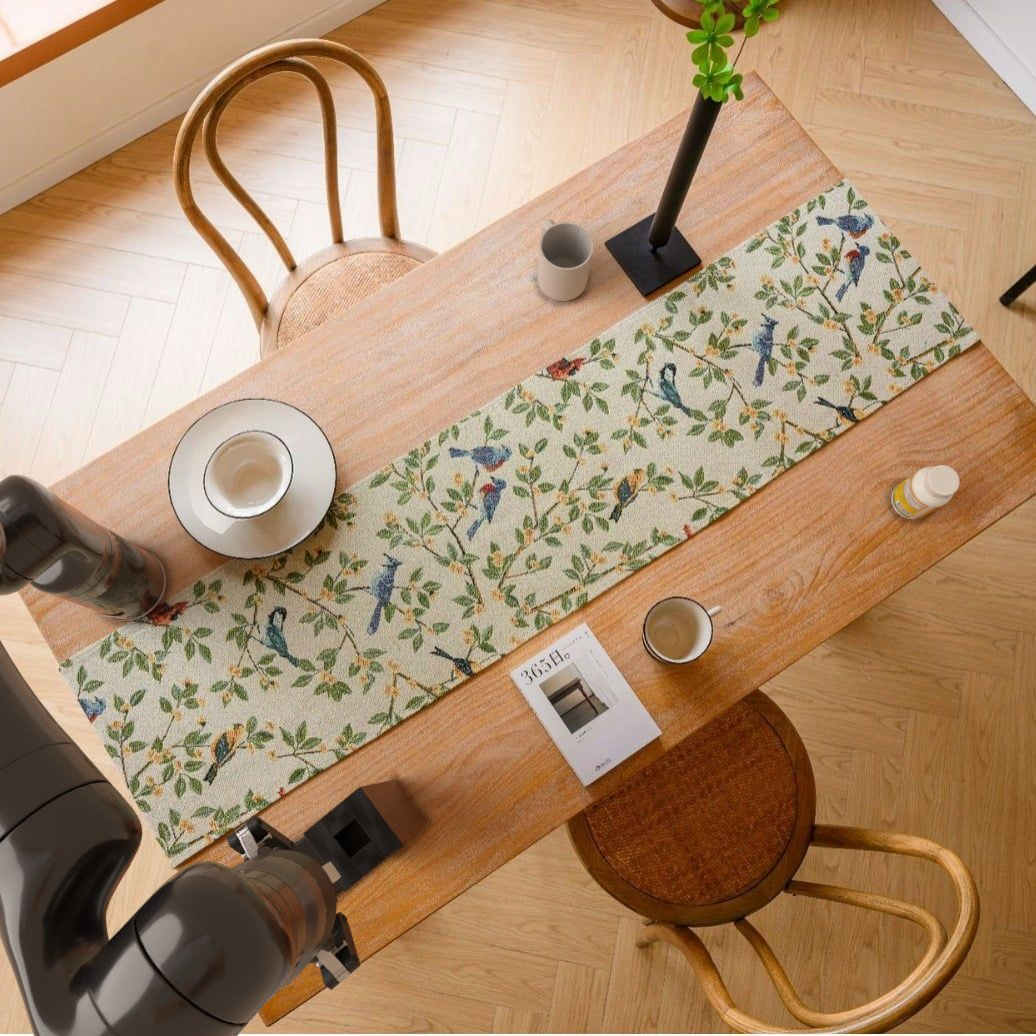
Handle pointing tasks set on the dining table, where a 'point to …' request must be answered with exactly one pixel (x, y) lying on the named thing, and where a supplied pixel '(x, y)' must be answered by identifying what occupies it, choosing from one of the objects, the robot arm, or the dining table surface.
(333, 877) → the grey square peg
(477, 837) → the dining table surface
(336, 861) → the holder
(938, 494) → the supplement bottle
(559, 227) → the cup
